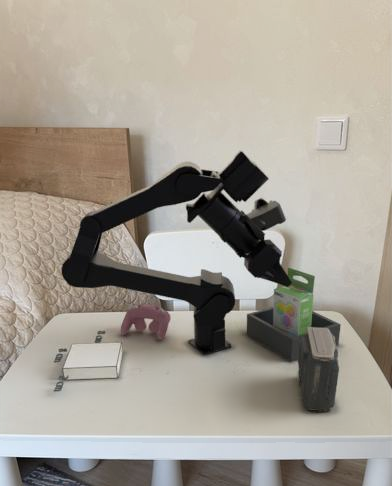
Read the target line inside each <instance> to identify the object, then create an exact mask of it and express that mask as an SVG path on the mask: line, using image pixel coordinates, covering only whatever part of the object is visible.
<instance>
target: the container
mask: <svg viewBox="0 0 392 486" xmlns="http://www.w3.org/2000/svg"><path fill="white" fill-rule="evenodd" d="M101 334H102V335H101ZM105 334H107V333H106V330H98V331H97V335H96V336H95V339H94V342H90V343H88V342H87V343H71V345H70V348H69V350H68V349H67V348H59V349H58V353H57V354H56V355H55V358H54V360H53V362H54V363H61V362H62V360H63V357H64V355H63V353H67V352H68V353H67V356H66V358H65V361H64V363H63V365H62V369H61V370H62V375H63V376H62V375H59V376H58V380H60V381H57V382H56V384H55V387H54V389H53V392H61V391H62V389H63V387H64V385H65V383H64V382H63V381H78V380H103V379H106V380H107V379H118V378H119V375H120V370H121V364H122V359H123V354H124V352H123V351H124V350H123V342H122V341H118V342H117V341H115V342H102V339H103V335H105ZM61 379H62V380H63V381H61Z"/></svg>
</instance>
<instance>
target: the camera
mask: <svg viewBox="0 0 392 486" xmlns="http://www.w3.org/2000/svg"><path fill="white" fill-rule="evenodd" d="M297 365H298V371H297V376H298V385H299V388H300V389H299V390H300V395H301V398H302V399H303V401H304V406H305V407H306V409H307V411H310V410H311V411H317V412H320V413H321V412H330V411H333V410H334V409H335V403H336V402H335V401H336V394H337V387H338V379H339V373H340V365H339V350H338V346H336V343H335V337H334V336H333V334H331V332H330V330H329V329H327V328H315V327H308V328H307V329H306V334H305V335H304V336H300V342H299V353H298V360H297Z"/></svg>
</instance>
